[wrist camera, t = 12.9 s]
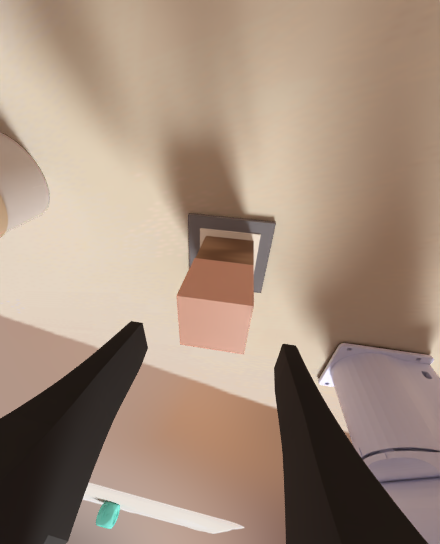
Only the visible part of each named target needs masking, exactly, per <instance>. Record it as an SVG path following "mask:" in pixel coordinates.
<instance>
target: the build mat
mask: <svg viewBox="0 0 440 544" xmlns="http://www.w3.org/2000/svg"><path fill="white" fill-rule="evenodd" d="M275 225H276V223H275V222H270V221H260V220H250V219H240V218H230V217H220V216H210V215H200V214H190V213H189V215H188V227H189V261H190V267H191V265H192V262H193V260H194V258H196V256H197V254H198V251H199V249H200V247H201V245H202V243H203V241H204V239H205V237H206V236H213V237H223V238H232V239H242V240H251V241H254V292H257V293H261V290H262V285H263V281H264V276H265V271H266V267H267V262H268V257H269V253H270V248H271V243H272V239H273V234H274V229H275Z"/></svg>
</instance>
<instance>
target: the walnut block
mask: <svg viewBox="0 0 440 544" xmlns="http://www.w3.org/2000/svg"><path fill="white" fill-rule="evenodd" d="M196 258H199V259H207V260H215V261H224V262H232V263H240V264H248V265H254V241H251V240H242V239H232V238H223V237H213V236H206V237H205V239H204V241H203V243H202V245H201V247H200V249H199V251H198V254H197V256H196Z"/></svg>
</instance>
